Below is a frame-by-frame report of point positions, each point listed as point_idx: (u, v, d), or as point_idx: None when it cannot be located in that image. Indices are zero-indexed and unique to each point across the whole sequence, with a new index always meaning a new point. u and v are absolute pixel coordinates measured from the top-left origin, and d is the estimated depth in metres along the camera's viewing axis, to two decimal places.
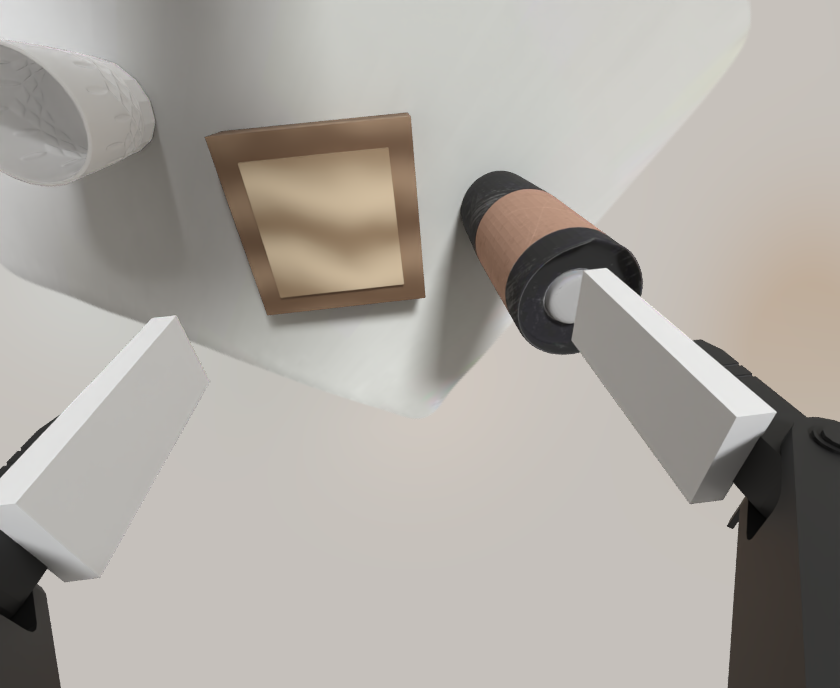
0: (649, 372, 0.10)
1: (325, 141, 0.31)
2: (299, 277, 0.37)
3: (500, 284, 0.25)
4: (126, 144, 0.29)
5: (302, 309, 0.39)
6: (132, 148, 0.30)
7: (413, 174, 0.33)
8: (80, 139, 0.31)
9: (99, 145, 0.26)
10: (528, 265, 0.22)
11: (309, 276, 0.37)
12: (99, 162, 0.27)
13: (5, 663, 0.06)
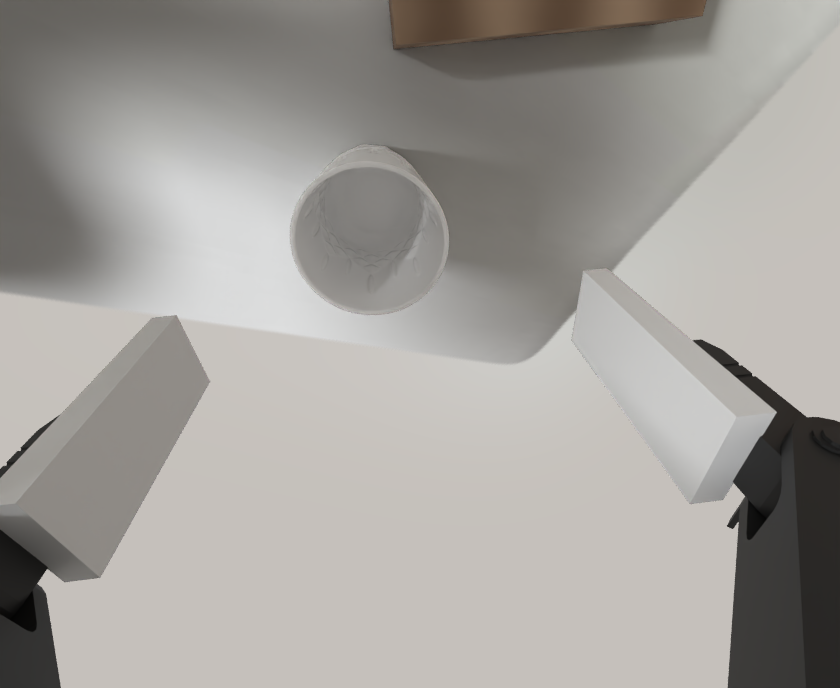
0: (649, 372, 0.10)
1: None
2: None
3: None
4: None
5: None
6: (412, 166, 0.23)
7: None
8: (404, 232, 0.27)
9: (401, 166, 0.18)
10: None
11: None
12: (423, 181, 0.19)
13: (5, 663, 0.06)
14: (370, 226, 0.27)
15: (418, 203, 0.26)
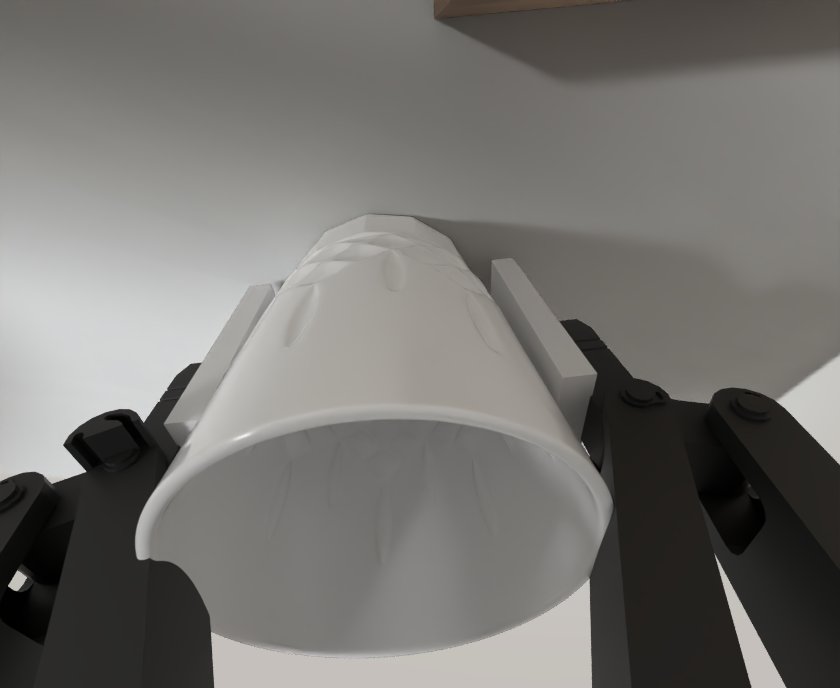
0: (525, 347, 0.11)
1: None
2: None
3: None
4: (469, 288, 0.09)
5: None
6: (475, 278, 0.11)
7: None
8: None
9: (491, 378, 0.06)
10: None
11: None
12: (542, 390, 0.07)
13: (178, 570, 0.07)
14: None
15: None
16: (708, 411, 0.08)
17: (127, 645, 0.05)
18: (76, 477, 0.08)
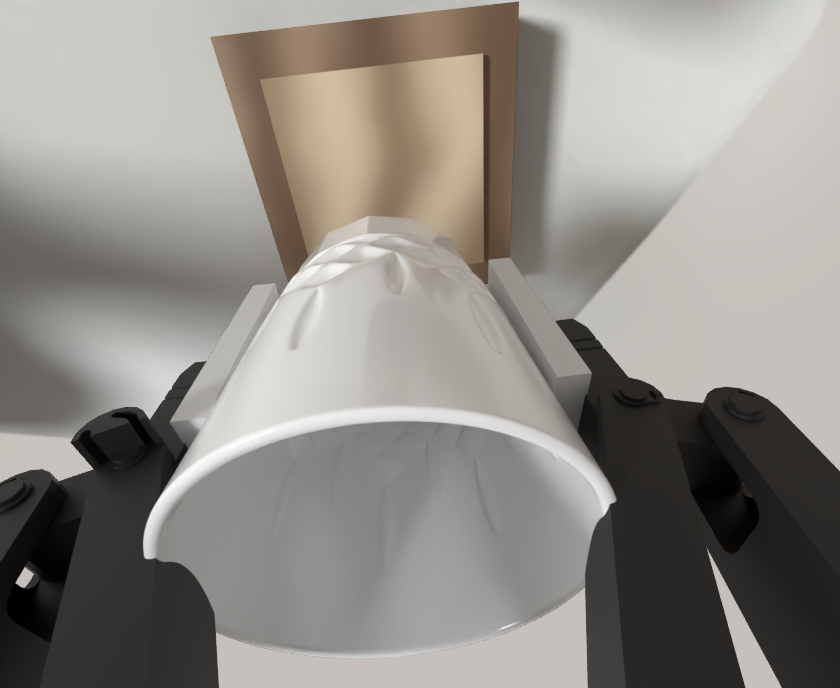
0: None
1: (274, 177, 0.24)
2: (455, 233, 0.26)
3: None
4: (472, 290, 0.09)
5: (507, 235, 0.27)
6: (477, 279, 0.11)
7: (293, 31, 0.20)
8: None
9: (495, 379, 0.06)
10: None
11: (455, 220, 0.26)
12: (546, 391, 0.07)
13: (183, 568, 0.07)
14: None
15: None
16: (702, 411, 0.08)
17: (133, 642, 0.05)
18: (82, 475, 0.08)
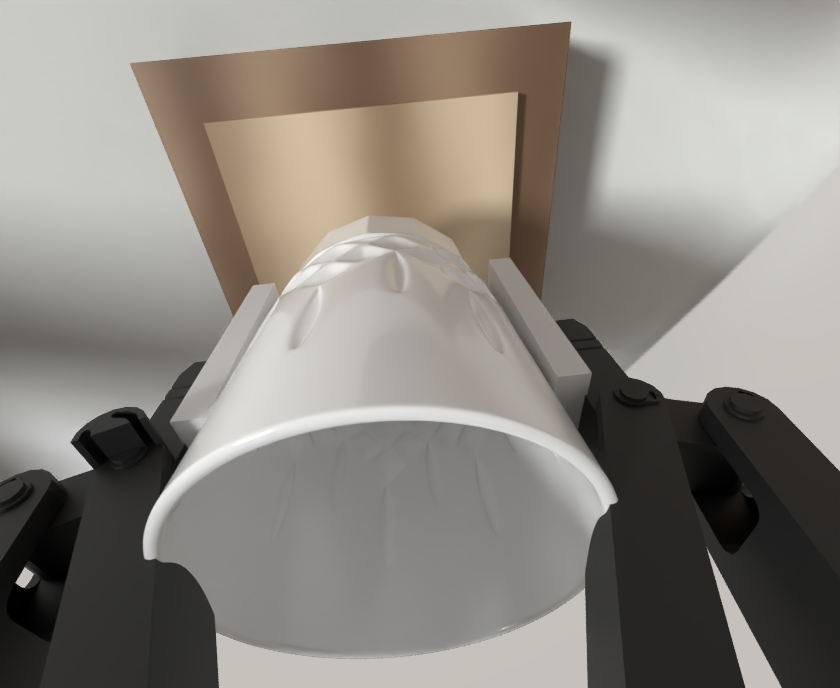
0: None
1: (231, 246, 0.18)
2: None
3: None
4: (472, 289, 0.09)
5: None
6: (478, 279, 0.11)
7: (250, 57, 0.14)
8: None
9: (496, 378, 0.06)
10: None
11: None
12: (547, 390, 0.07)
13: (184, 568, 0.07)
14: None
15: None
16: (702, 411, 0.08)
17: (134, 642, 0.05)
18: (82, 474, 0.08)
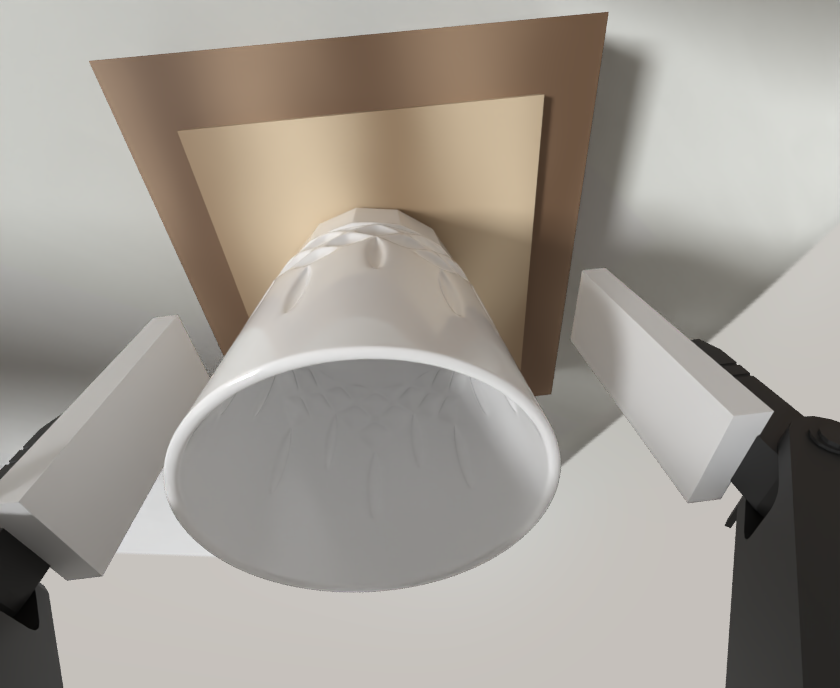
0: (647, 371, 0.10)
1: (214, 269, 0.16)
2: None
3: None
4: (444, 269, 0.11)
5: (554, 340, 0.19)
6: (452, 262, 0.12)
7: (231, 54, 0.12)
8: None
9: (450, 332, 0.07)
10: None
11: None
12: (499, 347, 0.08)
13: (8, 661, 0.06)
14: None
15: None
16: None
17: None
18: None
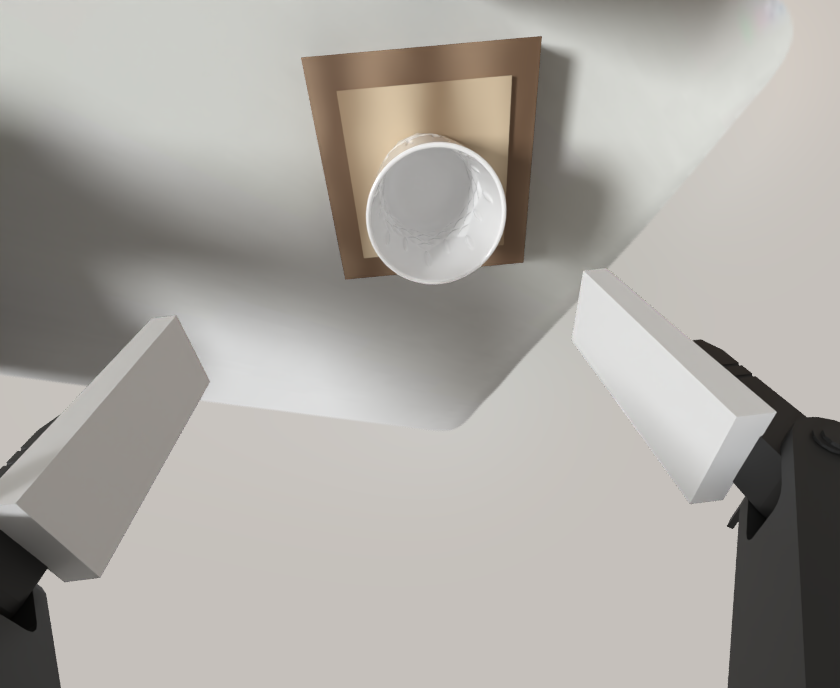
0: (649, 372, 0.10)
1: (338, 168, 0.30)
2: None
3: None
4: None
5: (523, 222, 0.33)
6: None
7: (365, 54, 0.26)
8: (453, 214, 0.29)
9: (466, 147, 0.21)
10: None
11: None
12: None
13: (5, 663, 0.06)
14: (422, 208, 0.29)
15: (469, 186, 0.28)
16: None
17: None
18: None
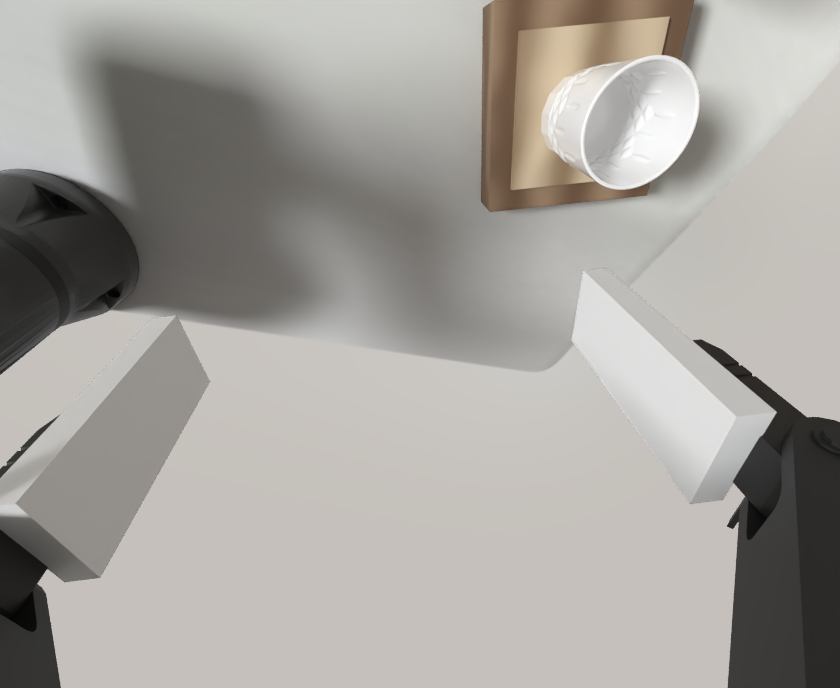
0: (649, 372, 0.10)
1: (505, 104, 0.34)
2: None
3: None
4: None
5: None
6: None
7: None
8: (607, 143, 0.34)
9: None
10: None
11: None
12: None
13: (5, 663, 0.06)
14: None
15: (627, 115, 0.32)
16: None
17: None
18: None
